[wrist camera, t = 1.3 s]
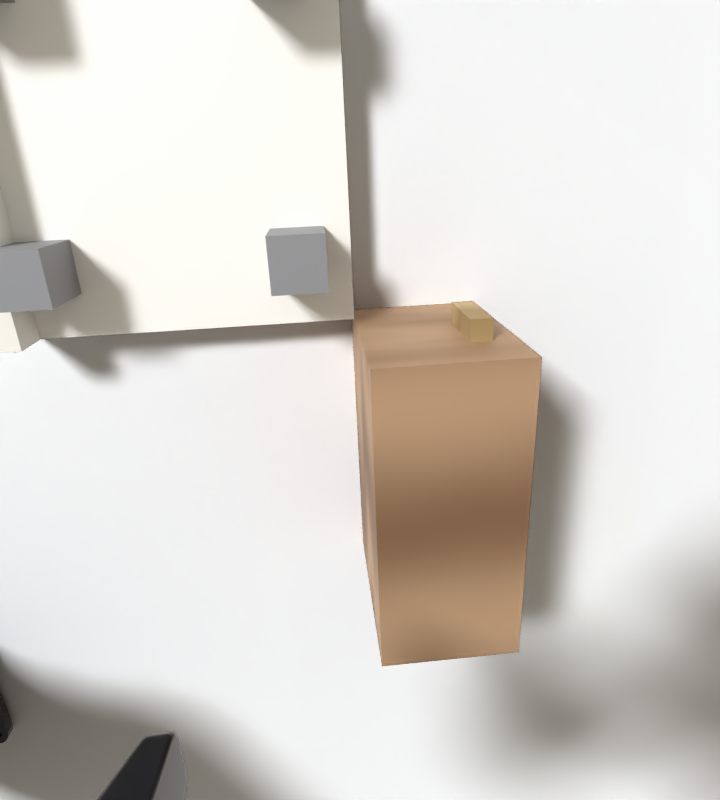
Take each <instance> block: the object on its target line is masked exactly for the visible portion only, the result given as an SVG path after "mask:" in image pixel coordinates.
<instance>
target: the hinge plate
mask: <svg viewBox="0 0 720 800" xmlns="http://www.w3.org/2000/svg"><path fill="white" fill-rule="evenodd" d="M347 319H354V301H353V280H352V260H351V239H350V219H349V198H348V178H347V158H346V137H345V117H344V96H343V76H342V55H341V35H340V15H339V0H0V353H5V352H20V351H23V350H25V349H26V348H28V347H29V346H31V345H32V344H34V343H35V342H37V341H39V340H40V339H52V338H68V337H83V336H99V335H114V334H130V333H145V332H161V331H176V330H192V329H207V328H223V327H239V326H254V325H270V324H285V323H301V322H316V321H332V320H347Z"/></svg>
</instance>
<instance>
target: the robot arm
mask: <svg viewBox="0 0 720 800" xmlns="http://www.w3.org/2000/svg"><path fill="white" fill-rule="evenodd" d="M12 729H13V726H12V722H11V720H10V717H9V715H8V712H7V709H6V707H5V704H4V702H3V699H2V696H1V694H0V743H3V742H5V741H6V740H7V738H8V736H9V734H10V732H11V731H12ZM186 792H187V770H186V766H185V762H184V759H183V755H182V751H181V748H180V744H179V741H178V737H177V735H176V734H175V733H174V732H171V731H169V732H161V733H153V734H149V735H147V736H145V737H144V738H143V739H142V740H141V741H140V742H139V744H138V745H137V747H136V748H135V749H134V751H133V752H132V753H131V755H130V756H129V757H128V759H127V760H126V762H125V763H124V764H123V766H122V767H121V768H120V770H119V771H118V772H117V774H116V775H115V777H114V778H113V779H112V781H111V782H110V783H109V785H108V786H107V787H106V789H105V790H104V791H103V793H102V794H101V796H100V797H99V798H98V800H186Z"/></svg>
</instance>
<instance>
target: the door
mask: <svg viewBox="0 0 720 800" xmlns="http://www.w3.org/2000/svg"><path fill="white" fill-rule="evenodd" d="M352 331H353V351H354V370H355V390H356V410H357V429H358V449H359V468H360V488H361V508H362V527H363V544H364V550H365V557H366V564H367V570H368V577H369V583H370V590H371V597H372V603H373V610H374V617H375V623H376V630H377V637H378V643H379V650H380V656H381V663H382V666H389V665H399V664H409V663H419V662H428V661H438V660H448V659H457V658H467V657H477V656H486V655H496V654H506V653H515V652H519V641H520V629H521V616H522V603H523V591H524V578H525V565H526V553H527V540H528V528H529V515H530V502H531V490H532V477H533V464H534V452H535V439H536V427H537V414H538V401H539V389H540V376H541V363H542V357H541V356H540V355H539V354H538V353H536V352H535V351H534V350H533V349H531V348H530V347H529V346H528V345H526V344H525V343H524V342H523V341H521V340H520V339H519V338H518V337H516V336H515V335H514V334H513V333H511V332H510V331H509V330H508V329H506V328H505V327H504V326H503V325H502V324H500V323H499V322H498V321H497V320H495V319H494V318H493V317H492V316H491V315H490V314H488V313H487V312H486V311H485V310H483V309H482V308H481V307H480V306H478V305H477V304H476V303H475V302H473V301H463V302H452V303H450V304H434V305H419V306H403V307H387V308H372V309H356V310H354V319H352Z"/></svg>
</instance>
